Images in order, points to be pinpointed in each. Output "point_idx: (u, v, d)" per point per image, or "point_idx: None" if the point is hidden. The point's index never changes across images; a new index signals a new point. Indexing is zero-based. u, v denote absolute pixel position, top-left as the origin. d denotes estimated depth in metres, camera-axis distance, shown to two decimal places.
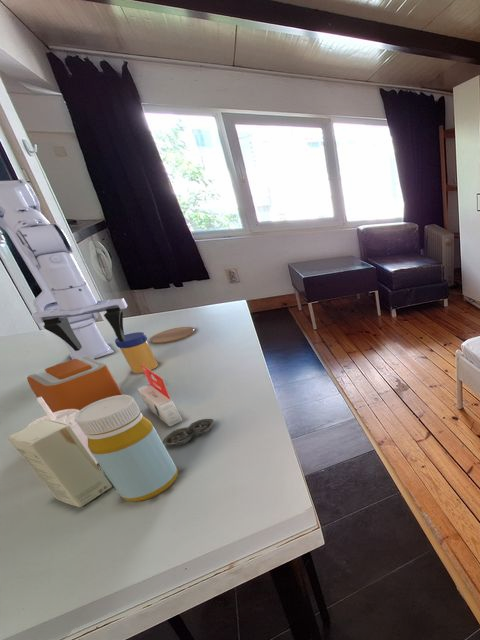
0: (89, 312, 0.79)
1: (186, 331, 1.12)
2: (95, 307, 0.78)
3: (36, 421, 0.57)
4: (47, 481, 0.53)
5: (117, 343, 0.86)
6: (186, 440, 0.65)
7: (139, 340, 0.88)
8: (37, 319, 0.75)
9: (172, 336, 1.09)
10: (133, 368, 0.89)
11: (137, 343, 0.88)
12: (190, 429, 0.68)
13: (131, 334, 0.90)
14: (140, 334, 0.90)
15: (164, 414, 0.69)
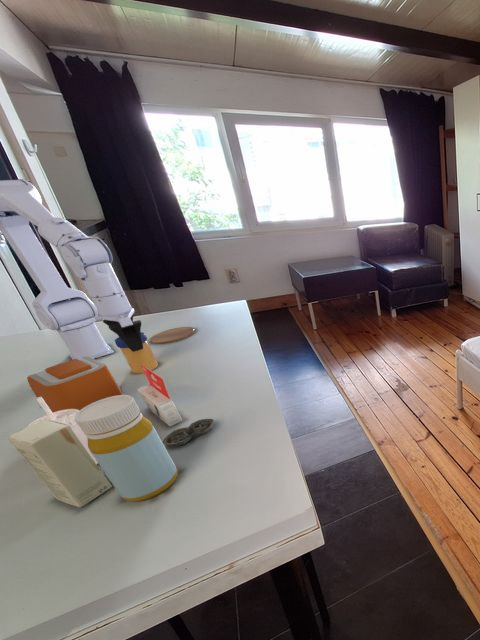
0: None
1: (186, 331, 1.12)
2: (107, 318, 0.82)
3: (36, 421, 0.57)
4: (47, 481, 0.53)
5: (117, 343, 0.86)
6: (186, 440, 0.65)
7: None
8: None
9: (172, 336, 1.09)
10: (133, 368, 0.89)
11: None
12: (190, 429, 0.68)
13: None
14: None
15: (164, 414, 0.69)
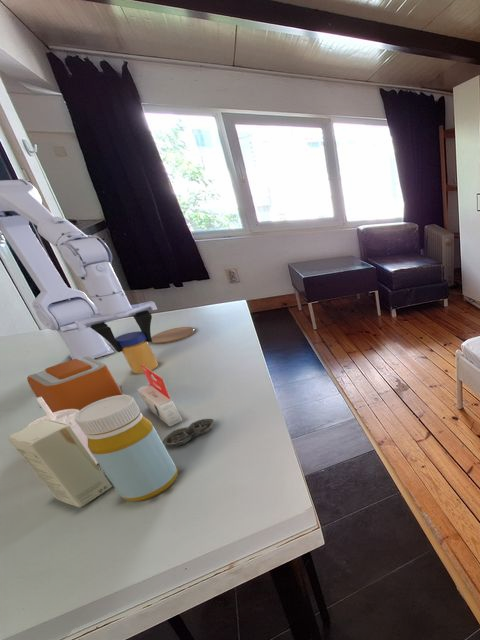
0: (125, 316, 0.87)
1: (186, 331, 1.12)
2: (135, 309, 0.87)
3: (36, 421, 0.57)
4: (47, 481, 0.53)
5: (139, 338, 0.88)
6: (186, 440, 0.65)
7: None
8: (81, 326, 0.80)
9: (172, 336, 1.09)
10: (134, 368, 0.89)
11: None
12: (190, 429, 0.68)
13: (120, 337, 0.88)
14: (127, 334, 0.90)
15: (164, 414, 0.69)
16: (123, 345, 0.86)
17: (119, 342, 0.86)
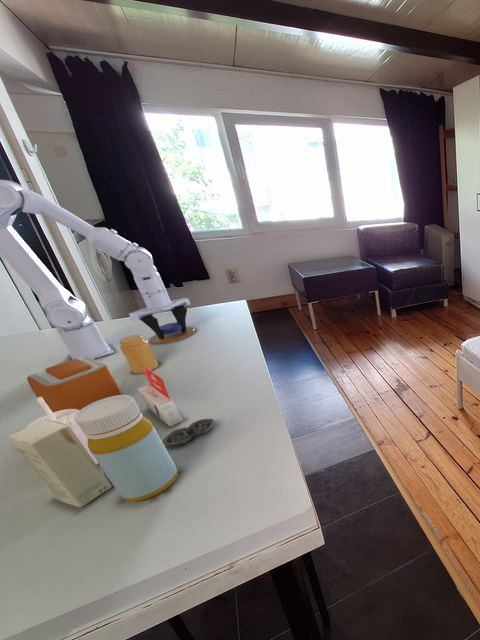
0: (166, 310, 1.08)
1: (186, 331, 1.12)
2: (175, 304, 1.08)
3: (36, 421, 0.57)
4: (47, 481, 0.53)
5: (177, 327, 1.09)
6: (186, 440, 0.65)
7: None
8: (135, 317, 1.01)
9: (172, 336, 1.09)
10: (134, 368, 0.89)
11: None
12: (190, 429, 0.68)
13: (162, 327, 1.08)
14: (166, 324, 1.10)
15: (164, 414, 0.69)
16: (166, 333, 1.07)
17: (162, 330, 1.07)
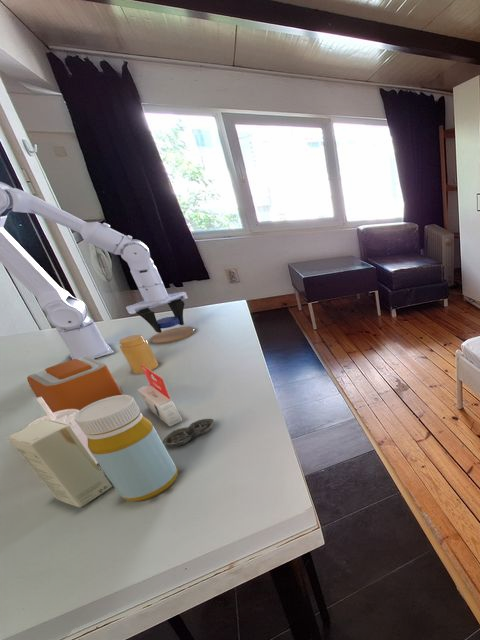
0: (163, 303, 1.07)
1: (186, 331, 1.12)
2: (172, 298, 1.07)
3: (36, 421, 0.57)
4: (47, 481, 0.53)
5: (175, 321, 1.08)
6: (186, 440, 0.65)
7: None
8: (132, 311, 1.00)
9: (172, 336, 1.09)
10: (134, 368, 0.89)
11: None
12: (190, 429, 0.68)
13: (159, 321, 1.08)
14: (163, 318, 1.10)
15: (164, 414, 0.69)
16: (163, 327, 1.07)
17: (160, 324, 1.06)
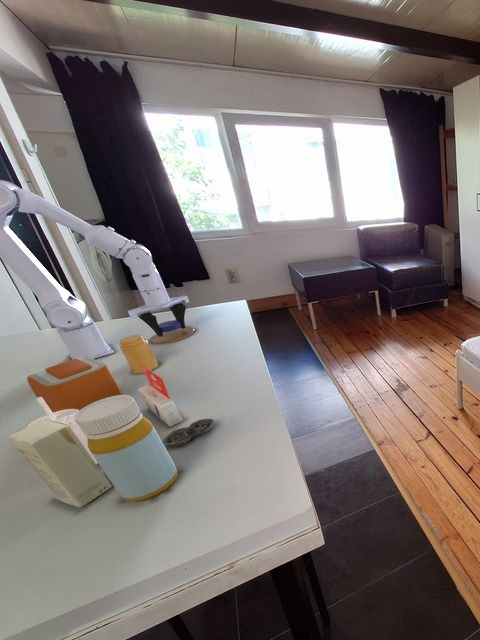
0: (165, 307, 1.08)
1: (186, 331, 1.12)
2: (173, 302, 1.07)
3: (36, 421, 0.57)
4: (47, 481, 0.53)
5: (176, 325, 1.09)
6: (186, 440, 0.65)
7: None
8: (134, 315, 1.01)
9: (172, 336, 1.09)
10: (134, 368, 0.89)
11: None
12: (190, 429, 0.68)
13: (161, 325, 1.08)
14: (165, 322, 1.10)
15: (164, 414, 0.69)
16: (164, 331, 1.07)
17: (161, 328, 1.07)
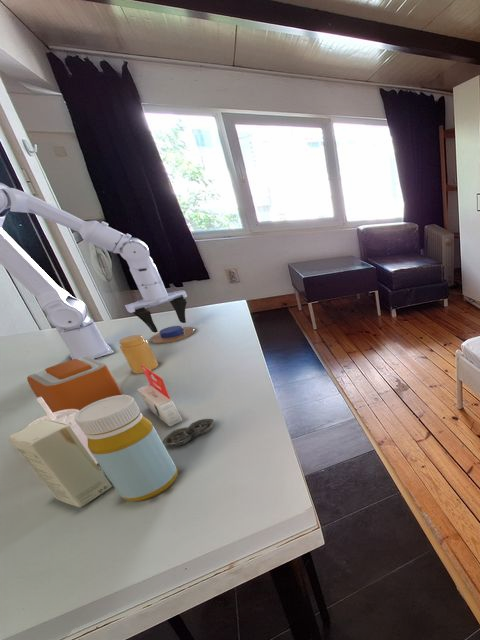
0: (163, 302, 1.07)
1: (186, 331, 1.12)
2: (171, 296, 1.07)
3: (36, 421, 0.57)
4: (47, 481, 0.53)
5: (179, 330, 1.10)
6: (186, 440, 0.65)
7: None
8: (131, 309, 1.00)
9: None
10: (134, 368, 0.89)
11: None
12: (190, 429, 0.68)
13: (163, 330, 1.09)
14: (167, 328, 1.11)
15: (164, 414, 0.69)
16: (167, 336, 1.08)
17: (164, 334, 1.08)
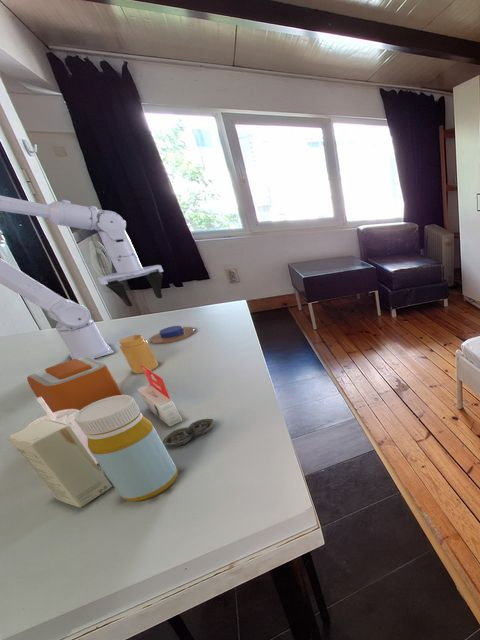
0: (137, 276, 1.05)
1: (186, 331, 1.12)
2: (146, 270, 1.05)
3: (36, 421, 0.57)
4: (47, 481, 0.53)
5: (179, 330, 1.10)
6: (186, 440, 0.65)
7: None
8: (104, 281, 0.99)
9: None
10: (134, 368, 0.89)
11: None
12: (190, 429, 0.68)
13: (163, 330, 1.09)
14: (167, 328, 1.11)
15: (164, 414, 0.69)
16: (167, 336, 1.08)
17: (164, 334, 1.08)
